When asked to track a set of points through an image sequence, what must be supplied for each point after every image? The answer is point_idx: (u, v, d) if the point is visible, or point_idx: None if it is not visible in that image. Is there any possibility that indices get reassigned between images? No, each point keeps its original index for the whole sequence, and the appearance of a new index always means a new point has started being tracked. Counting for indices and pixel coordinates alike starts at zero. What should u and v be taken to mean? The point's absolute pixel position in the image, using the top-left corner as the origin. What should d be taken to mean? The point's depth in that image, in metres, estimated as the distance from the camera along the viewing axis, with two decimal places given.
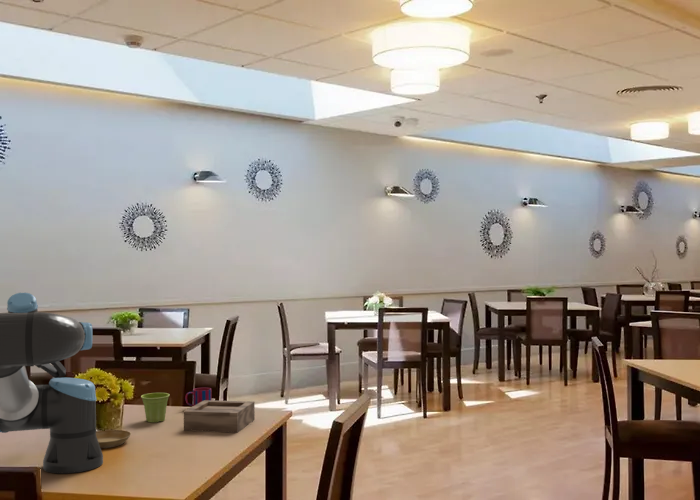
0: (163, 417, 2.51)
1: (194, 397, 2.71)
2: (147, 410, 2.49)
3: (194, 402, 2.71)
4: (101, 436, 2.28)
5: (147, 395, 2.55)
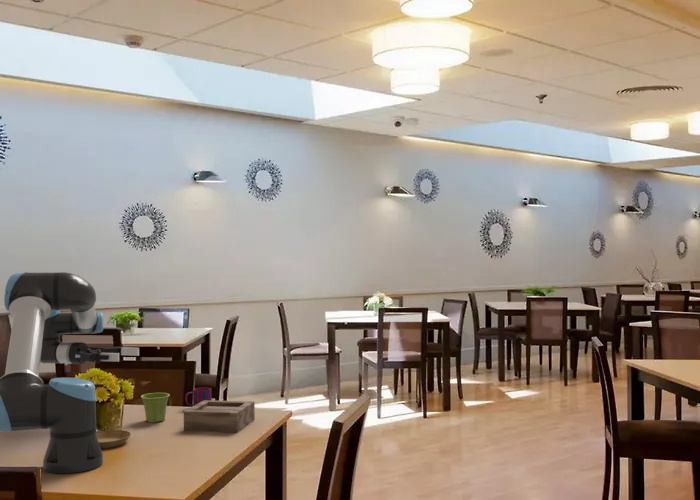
0: (163, 417, 2.51)
1: (194, 397, 2.71)
2: (147, 410, 2.49)
3: (194, 402, 2.71)
4: (101, 436, 2.28)
5: (147, 395, 2.55)
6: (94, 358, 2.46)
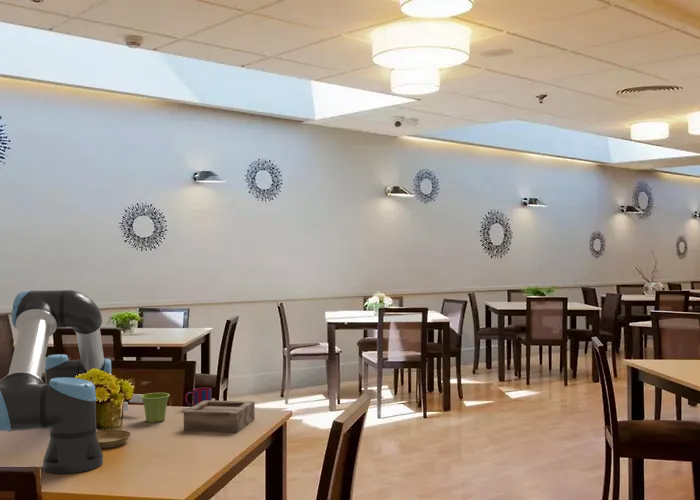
0: (163, 417, 2.51)
1: (194, 397, 2.71)
2: (147, 410, 2.49)
3: (194, 402, 2.71)
4: (101, 436, 2.28)
5: (147, 395, 2.55)
6: None
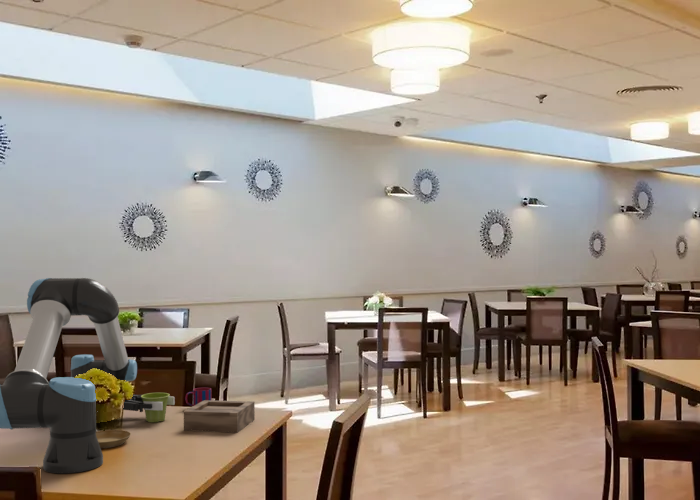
0: (163, 417, 2.51)
1: (194, 397, 2.71)
2: (147, 410, 2.49)
3: (194, 402, 2.71)
4: (101, 436, 2.28)
5: (147, 395, 2.55)
6: (138, 407, 2.45)
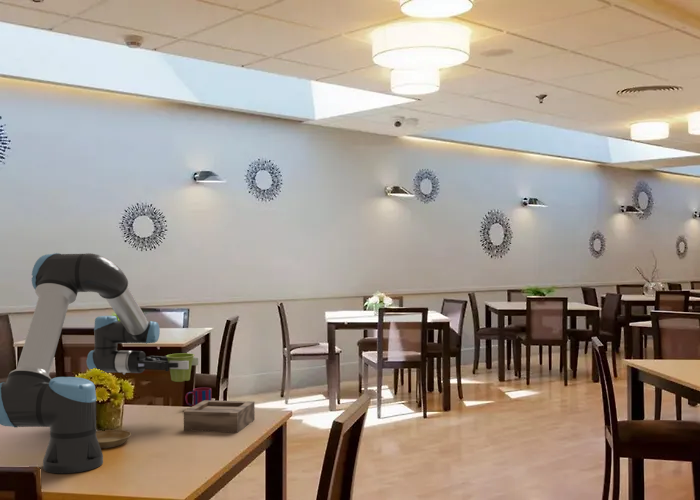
0: (188, 377, 2.50)
1: (194, 397, 2.71)
2: (172, 369, 2.48)
3: (194, 402, 2.71)
4: (101, 436, 2.28)
5: (172, 355, 2.54)
6: (164, 366, 2.44)
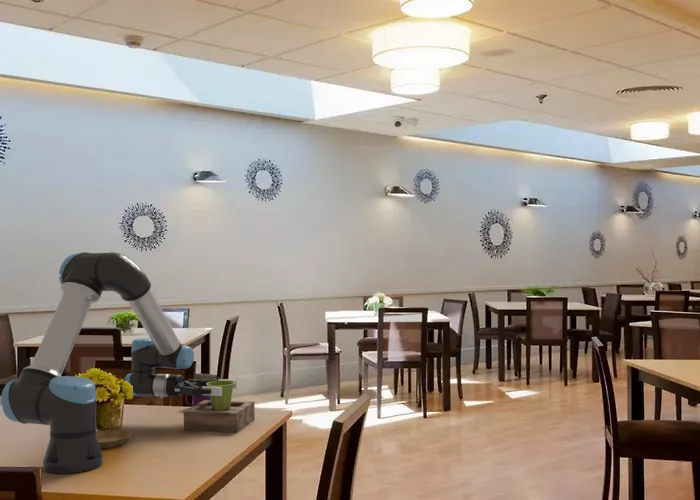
0: (229, 405, 2.45)
1: (194, 397, 2.71)
2: (213, 398, 2.43)
3: (194, 402, 2.71)
4: (101, 436, 2.28)
5: (211, 383, 2.49)
6: (196, 392, 2.36)
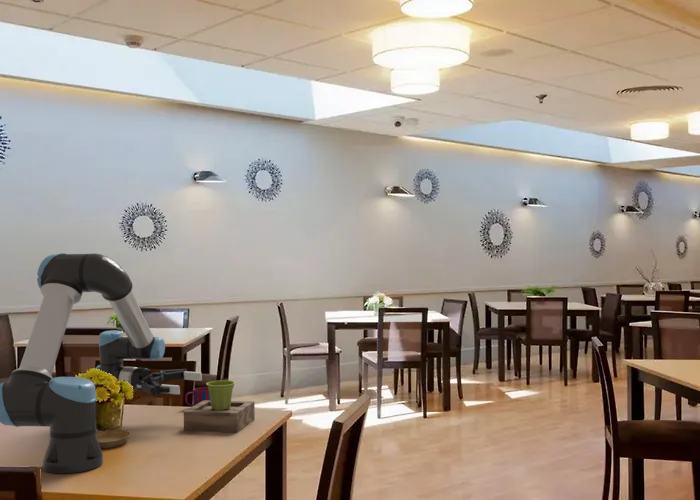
0: (229, 405, 2.45)
1: (194, 397, 2.71)
2: (213, 398, 2.43)
3: (194, 402, 2.71)
4: (101, 436, 2.28)
5: (211, 383, 2.49)
6: (155, 391, 2.37)
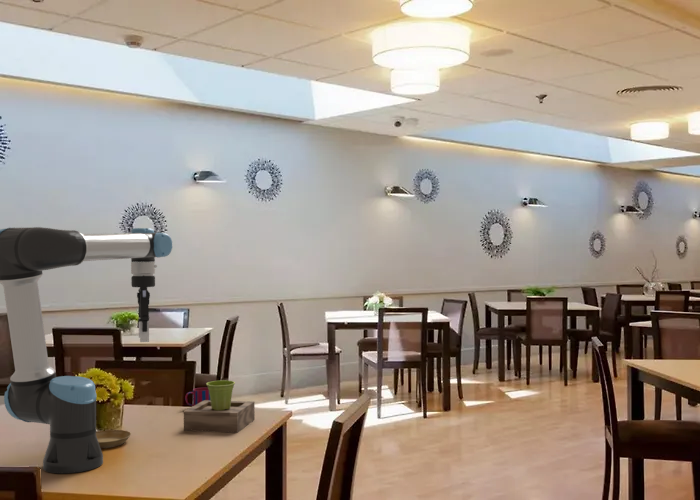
0: (229, 405, 2.45)
1: (194, 397, 2.71)
2: (213, 398, 2.43)
3: (194, 402, 2.71)
4: (101, 436, 2.28)
5: (211, 383, 2.49)
6: None
